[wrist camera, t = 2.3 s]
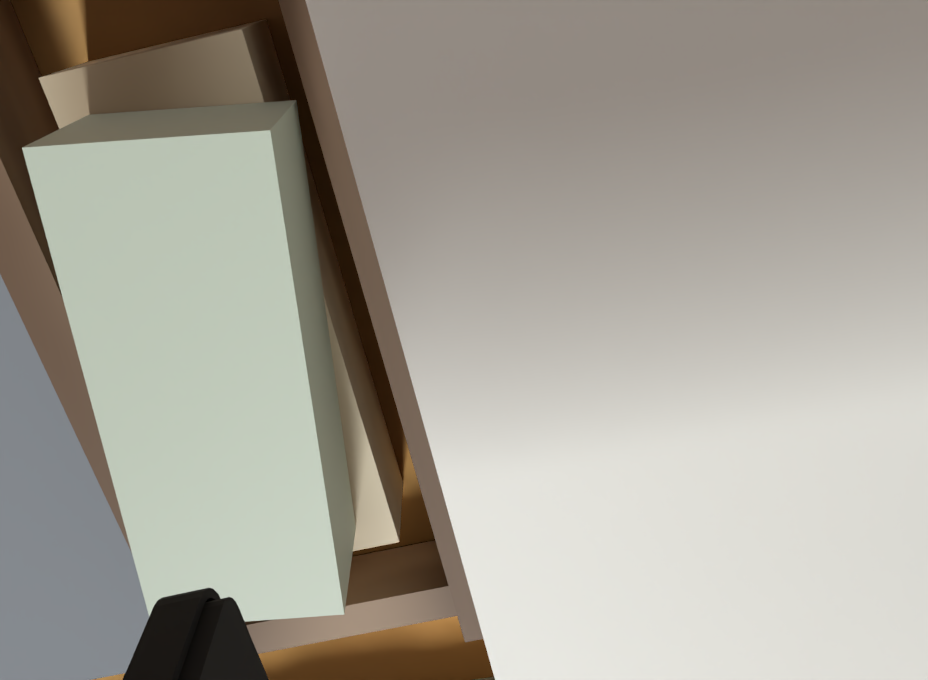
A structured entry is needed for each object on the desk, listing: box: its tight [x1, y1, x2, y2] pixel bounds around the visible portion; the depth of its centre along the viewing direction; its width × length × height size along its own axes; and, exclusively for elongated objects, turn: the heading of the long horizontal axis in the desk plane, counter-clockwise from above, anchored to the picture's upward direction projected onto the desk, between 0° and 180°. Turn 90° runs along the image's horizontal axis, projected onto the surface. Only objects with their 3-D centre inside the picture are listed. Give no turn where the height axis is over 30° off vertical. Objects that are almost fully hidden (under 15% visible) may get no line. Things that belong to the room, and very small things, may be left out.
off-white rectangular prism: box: [305, 0, 928, 680], centre depth 15 cm, size 5×14×13 cm, turn 13°
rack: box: [0, 0, 483, 654], centre depth 20 cm, size 16×18×3 cm
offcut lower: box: [39, 19, 403, 551], centre depth 20 cm, size 4×12×3 cm, turn 12°
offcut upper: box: [22, 100, 356, 622], centre depth 18 cm, size 4×10×3 cm, turn 4°
